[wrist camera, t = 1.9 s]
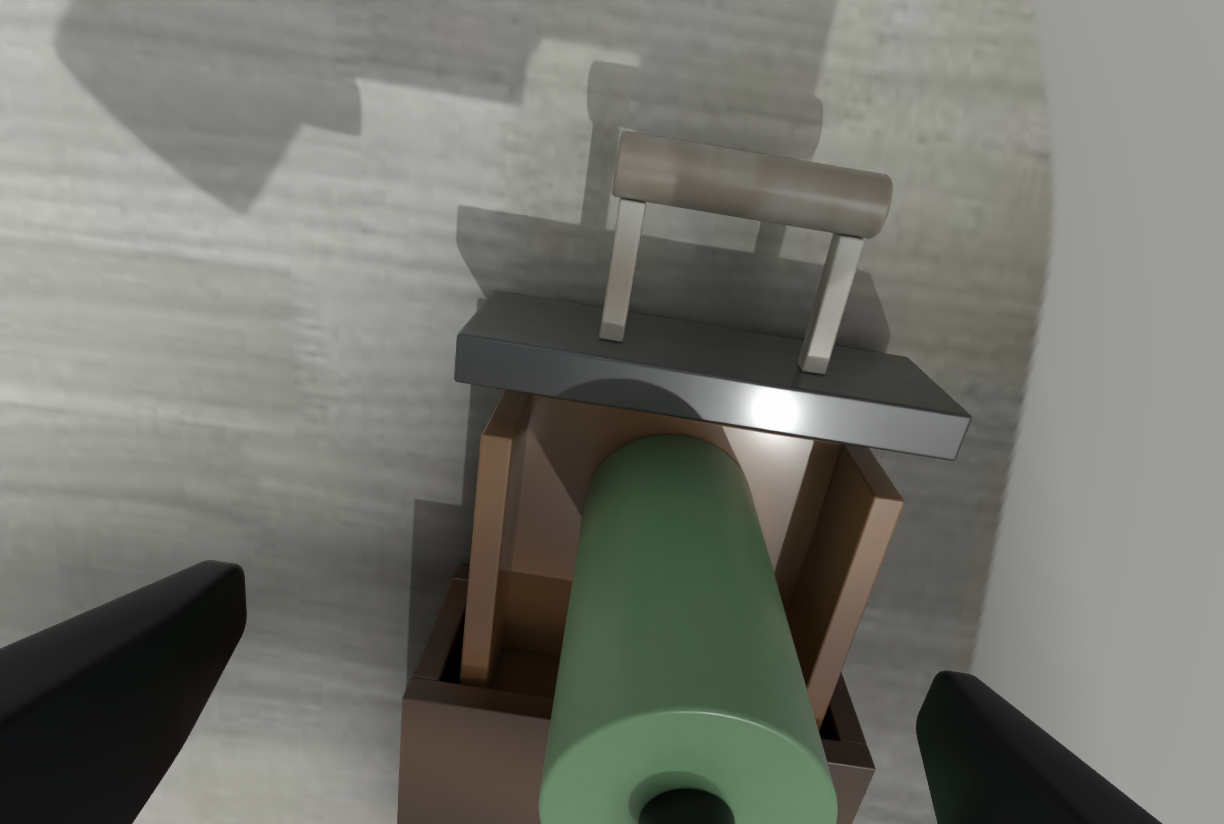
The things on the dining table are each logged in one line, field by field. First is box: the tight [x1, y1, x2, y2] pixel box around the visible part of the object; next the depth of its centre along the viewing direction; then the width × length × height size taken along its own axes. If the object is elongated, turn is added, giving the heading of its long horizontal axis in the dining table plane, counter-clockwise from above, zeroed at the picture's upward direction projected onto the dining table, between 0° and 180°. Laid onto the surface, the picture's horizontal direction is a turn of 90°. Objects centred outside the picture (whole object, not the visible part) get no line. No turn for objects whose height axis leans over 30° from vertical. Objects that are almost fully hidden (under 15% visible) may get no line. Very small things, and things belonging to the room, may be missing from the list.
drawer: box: [454, 131, 972, 731], centre depth 19 cm, size 17×12×4 cm
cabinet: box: [397, 565, 875, 824], centre depth 24 cm, size 14×13×6 cm
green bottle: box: [538, 434, 838, 824], centre depth 16 cm, size 5×5×11 cm
